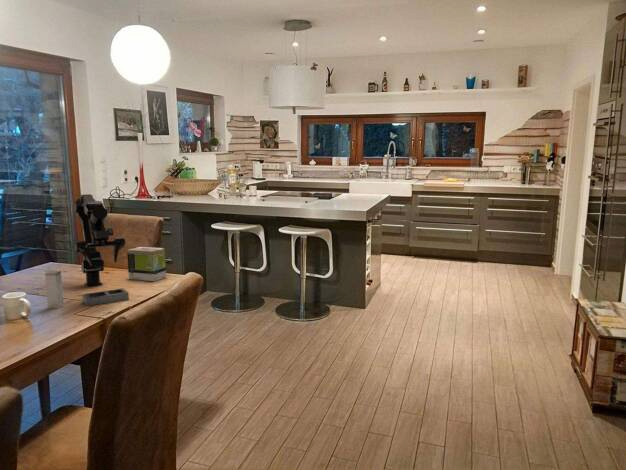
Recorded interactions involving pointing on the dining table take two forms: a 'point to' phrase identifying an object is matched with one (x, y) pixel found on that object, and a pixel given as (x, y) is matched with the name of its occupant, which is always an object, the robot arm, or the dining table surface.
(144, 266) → the tea box
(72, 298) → the dining table surface
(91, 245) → the robot arm
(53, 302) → the grey tall block
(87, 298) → the grey compartment tray
